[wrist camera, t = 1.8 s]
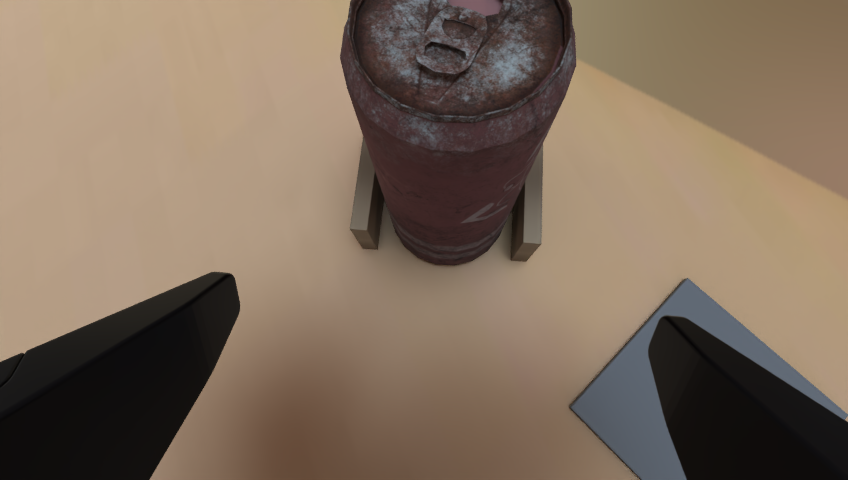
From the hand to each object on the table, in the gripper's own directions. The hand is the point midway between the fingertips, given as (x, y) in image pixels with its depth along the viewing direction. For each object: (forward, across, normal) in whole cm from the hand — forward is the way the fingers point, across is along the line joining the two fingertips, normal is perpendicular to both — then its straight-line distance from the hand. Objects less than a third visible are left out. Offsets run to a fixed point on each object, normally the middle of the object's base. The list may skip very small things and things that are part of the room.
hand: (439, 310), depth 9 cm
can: (+14, 0, +4) cm, 15 cm away
